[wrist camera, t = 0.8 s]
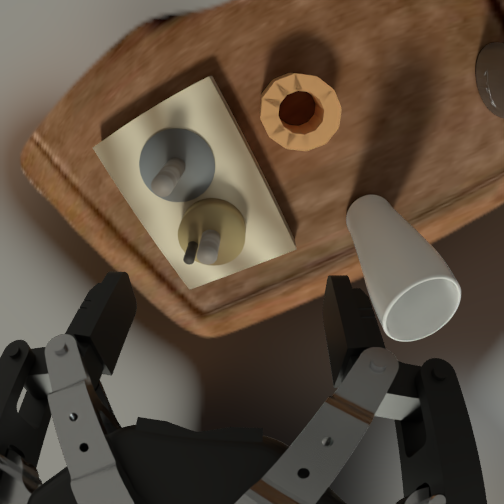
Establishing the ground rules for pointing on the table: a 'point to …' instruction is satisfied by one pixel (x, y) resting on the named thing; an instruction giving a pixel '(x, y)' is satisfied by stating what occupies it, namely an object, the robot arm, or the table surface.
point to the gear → (311, 131)
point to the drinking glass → (401, 271)
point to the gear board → (197, 186)
